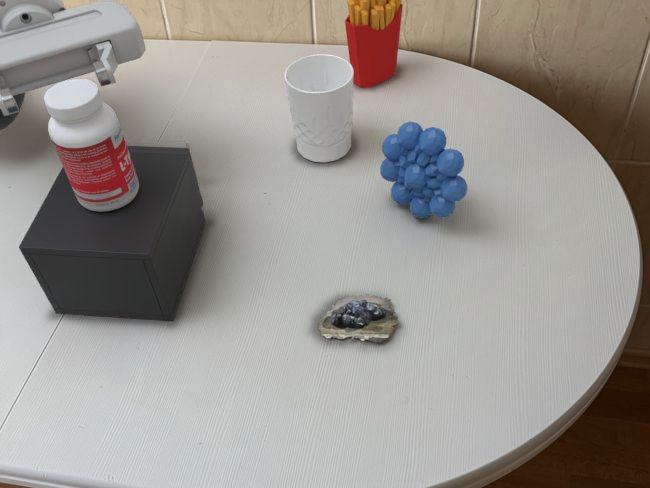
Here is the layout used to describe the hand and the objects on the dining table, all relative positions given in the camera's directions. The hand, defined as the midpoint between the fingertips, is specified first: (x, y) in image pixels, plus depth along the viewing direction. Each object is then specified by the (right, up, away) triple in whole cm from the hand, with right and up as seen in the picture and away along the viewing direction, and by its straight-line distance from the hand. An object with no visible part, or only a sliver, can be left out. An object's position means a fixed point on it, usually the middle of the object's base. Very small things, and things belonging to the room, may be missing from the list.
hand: (58, 92), depth 67 cm
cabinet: (+4, -15, +10) cm, 19 cm away
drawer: (+5, -11, +12) cm, 17 cm away
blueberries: (+28, -22, +4) cm, 36 cm away
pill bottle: (+4, -9, +3) cm, 10 cm away
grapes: (+36, -9, +13) cm, 40 cm away
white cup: (+25, +1, +21) cm, 33 cm away
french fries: (+32, +13, +30) cm, 46 cm away
